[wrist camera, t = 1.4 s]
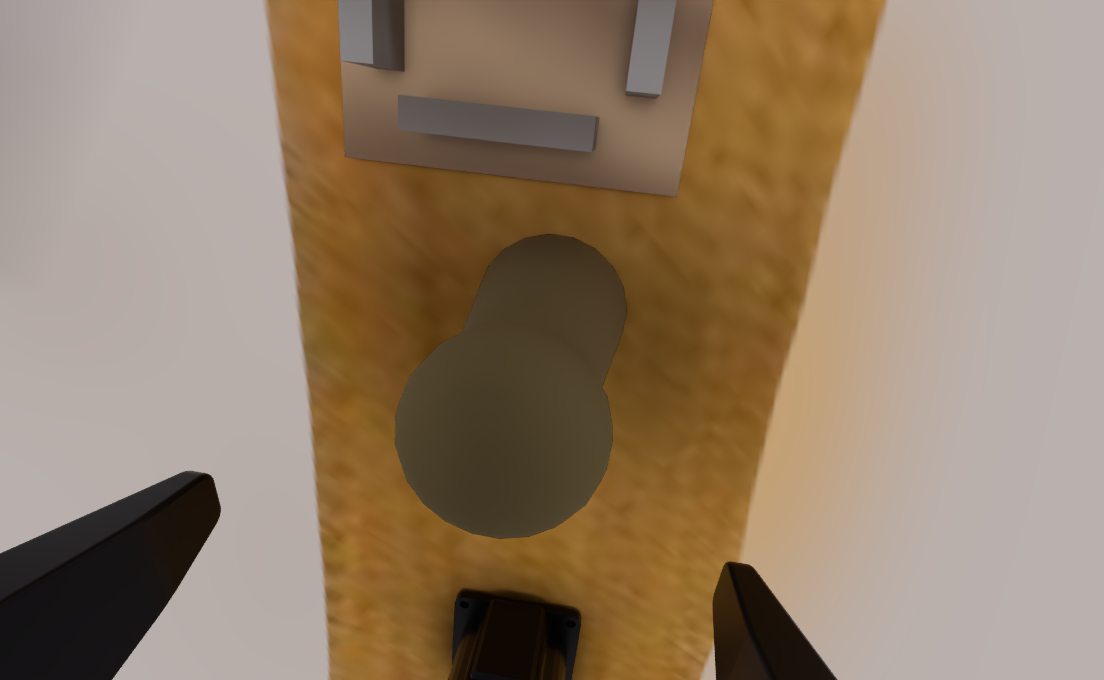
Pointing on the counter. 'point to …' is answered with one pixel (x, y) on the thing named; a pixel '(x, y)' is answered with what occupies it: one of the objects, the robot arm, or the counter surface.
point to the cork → (518, 394)
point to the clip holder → (525, 87)
